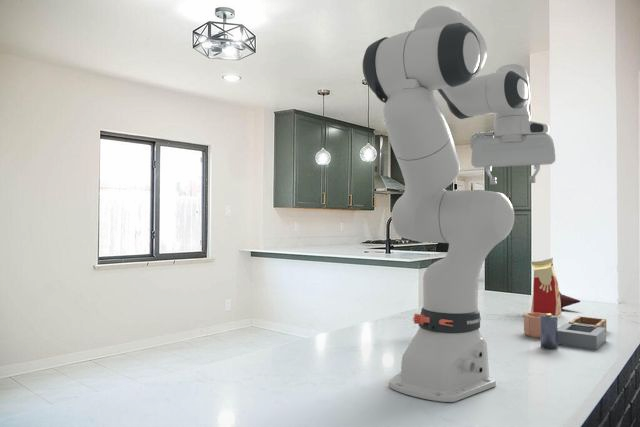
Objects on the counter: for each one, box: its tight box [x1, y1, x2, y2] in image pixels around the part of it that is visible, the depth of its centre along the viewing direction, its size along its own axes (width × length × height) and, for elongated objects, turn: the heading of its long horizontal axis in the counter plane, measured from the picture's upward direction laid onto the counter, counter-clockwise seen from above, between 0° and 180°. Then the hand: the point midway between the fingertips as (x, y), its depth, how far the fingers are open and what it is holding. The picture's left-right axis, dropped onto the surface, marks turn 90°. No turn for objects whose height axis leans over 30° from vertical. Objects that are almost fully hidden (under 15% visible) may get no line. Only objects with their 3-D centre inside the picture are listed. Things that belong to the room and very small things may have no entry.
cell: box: [540, 313, 559, 350], centre depth 127 cm, size 4×4×9 cm
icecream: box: [559, 290, 581, 310], centre depth 181 cm, size 7×7×15 cm
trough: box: [568, 315, 607, 329], centre depth 144 cm, size 12×8×3 cm, turn 140°
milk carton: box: [530, 257, 562, 319], centre depth 169 cm, size 9×9×20 cm
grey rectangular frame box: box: [557, 322, 607, 350], centre depth 132 cm, size 12×10×4 cm
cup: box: [523, 312, 554, 339], centre depth 141 cm, size 8×8×6 cm
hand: (512, 183), depth 127 cm, fingers open, 8 cm apart
